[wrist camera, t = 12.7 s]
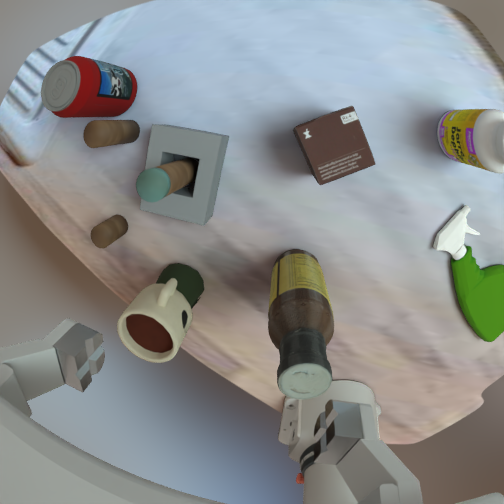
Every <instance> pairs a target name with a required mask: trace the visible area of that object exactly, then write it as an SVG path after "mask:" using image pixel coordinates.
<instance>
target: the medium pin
mask: <svg viewBox="0 0 504 504" xmlns="http://www.w3.org/2000/svg"><path fill="white" fill-rule="evenodd" d="M139 133H140V128H139V125H138V124H137V122H135V121H133V120H94V121H91V122H90V123H88V124H87V126H86V127H85V130H84V141H85V143H86V144H87V146H89V147H91V148H98V147H104V146H110V145H117V144H125V143H132V142H134V141H135V140H136V139H137V138H138V136H139Z"/></svg>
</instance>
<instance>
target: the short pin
mask: <svg viewBox="0 0 504 504" xmlns="http://www.w3.org/2000/svg"><path fill="white" fill-rule="evenodd" d="M127 230H128V223H127V221H126V219H125V218H124V217H123V216H121V215H115V216H113V217H111V218H109V219H107V220H106V221H104V222H102V223H100V224H99V225H97V226H95V227H94V228H93V229H92V231H91V239H92V241H93V243H94V244H95V245H96V246H97V247H98V248H106V247H107V246H108V245H110V244H111V243H113V242H114V241H115V240H117V239H118V238H120V237H121V236H123V235H124V234H125V233H126V232H127Z"/></svg>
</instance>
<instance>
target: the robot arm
mask: <svg viewBox="0 0 504 504" xmlns="http://www.w3.org/2000/svg"><path fill="white" fill-rule="evenodd" d="M102 342H103V336H102V334H101V333H99V332H97V331H95V330H93V329H91V328H89V327H87V326H85V325H82V324H80V323H78V322H76V321H74V320H72V319H70V318H67V319H65V320H64V321H62V322H61V323H60V324H59V325H58V326H57V327H56V328H55V329H54V330H52V331H51V332H50V333H49V334H48V335H47V336H46V337H45V338H44V339H43V340H40V339H37V340H32V341H28V342H24V343H20V344H16V345H11V346H7V347H3V348H0V504H225V503H220V502H217V501H212V500H209V499H205V498H201V497H197V496H194V495H190V494H187V493H183V492H180V491H177V490H174V489H171V488H168V487H165V486H162V485H159V484H157V483H154V482H151V481H149V480H146V479H143V478H141V477H138V476H136V475H134V474H131V473H129V472H126V471H124V470H122V469H120V468H117V467H115V466H113V465H111V464H109V463H107V462H104V461H102V460H100V459H98V458H96V457H94V456H92V455H90V454H89V453H87V452H85V451H83V450H81V449H79V448H77V447H76V446H74V445H72V444H70V443H69V442H67V441H65V440H64V439H62V438H60V437H58V436H57V435H55V434H54V433H52V432H51V431H49V430H47V429H46V428H44V427H43V426H41V425H40V424H38V423H37V422H35V421H34V420H32V419H31V418H30V416H31V414H32V413H31V409H30V407H29V405H28V403H27V401H28V400H30V399H33V398H35V397H37V396H40V395H42V394H44V393H46V392H49V391H51V390H53V389H55V388H58V387H60V386H62V385H64V383H65V384H67V385H69V386H71V387H73V388H75V389H77V390H79V391H81V392H84V390H85V389H86V388H87V386H88V385H89V384H90V383H91V381H92V379H91V375H94V374H96V373H98V372H99V371H100V369H101V368H102V365H103V363H104V358H105V353H104V349H103V348H102V346H101V344H102ZM380 414H381V408H380V406H379V405H378V404H377V403H376V402H375V398H374V394H373V392H372V390H371V389H370V388H369V387H368V386H366V385H364V384H362V383H359V382H356V381H349V380H338V381H332V382H331V384H330V387H329V388H328V390H327V391H326V392H325V393H323V394H322V395H320V396H318V397H315V398H311V399H305V400H299V399H293V398H290V397H288V396H286V398H285V401H284V407H283V412H282V418H281V423H280V428H279V433H278V440H279V441H280V442H281V443H283V444H286V445H288V446H289V457H290V458H291V459H293V460H295V461H297V462H299V463H300V470H301V472H302V473H299V474H298V476H297V478H296V482H297V483H298V484H299V483H300V484H301V483H304V497H303V504H423V500H422V494H421V489H420V483H419V480H418V479H417V478H416V477H415V476H414V475H413V474H412V473H411V472H410V471H409V470H408V468H407V467H406V466H405V465H404V464H403V463H402V462H401V461H400V460H399V459H398V458H397V456H396V455H395V454H394V453H393V452H392V451H391V450H390V449H389V448H388V447H387V445H386V444H385V443H384V442H383V441H382V440H379V426H378V416H379V415H380ZM455 504H504V496H503V495H502V494H500V493H491V494H487V495H485V496H481V497H478V498H475V499H471V500H467V501H463V502H459V503H455Z"/></svg>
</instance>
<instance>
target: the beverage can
mask: <svg viewBox="0 0 504 504" xmlns="http://www.w3.org/2000/svg"><path fill="white" fill-rule="evenodd" d="M136 93H137V81H136V78H135V76H134V75H133V73H132V72H131V71H129V70H128V69H125V68H122V67H119V66H116V65H112V64H109V63H105V62H102V61H98V60H94V59H90V58H85V57H81V56H73V57H70V58H67V59H65V60H63V61H60V62H58V63H56V64H55V65H53V66H52V67H51V68H50V70H49V71H48V72H47V74H46V76H45V78H44V80H43V84H42V89H41V97H42V101H43V104H44V106H45V107H46V108H47V109H48V110H50V111H52V112H53V113H54V114H55V115H57V116H59V117H63V118H67V117H114V116H118V115H121V114H122V113H124V112H125V111H127V110H128V109H129V107H130V106H131V105H132V103H133V102H134V100H135V97H136Z"/></svg>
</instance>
